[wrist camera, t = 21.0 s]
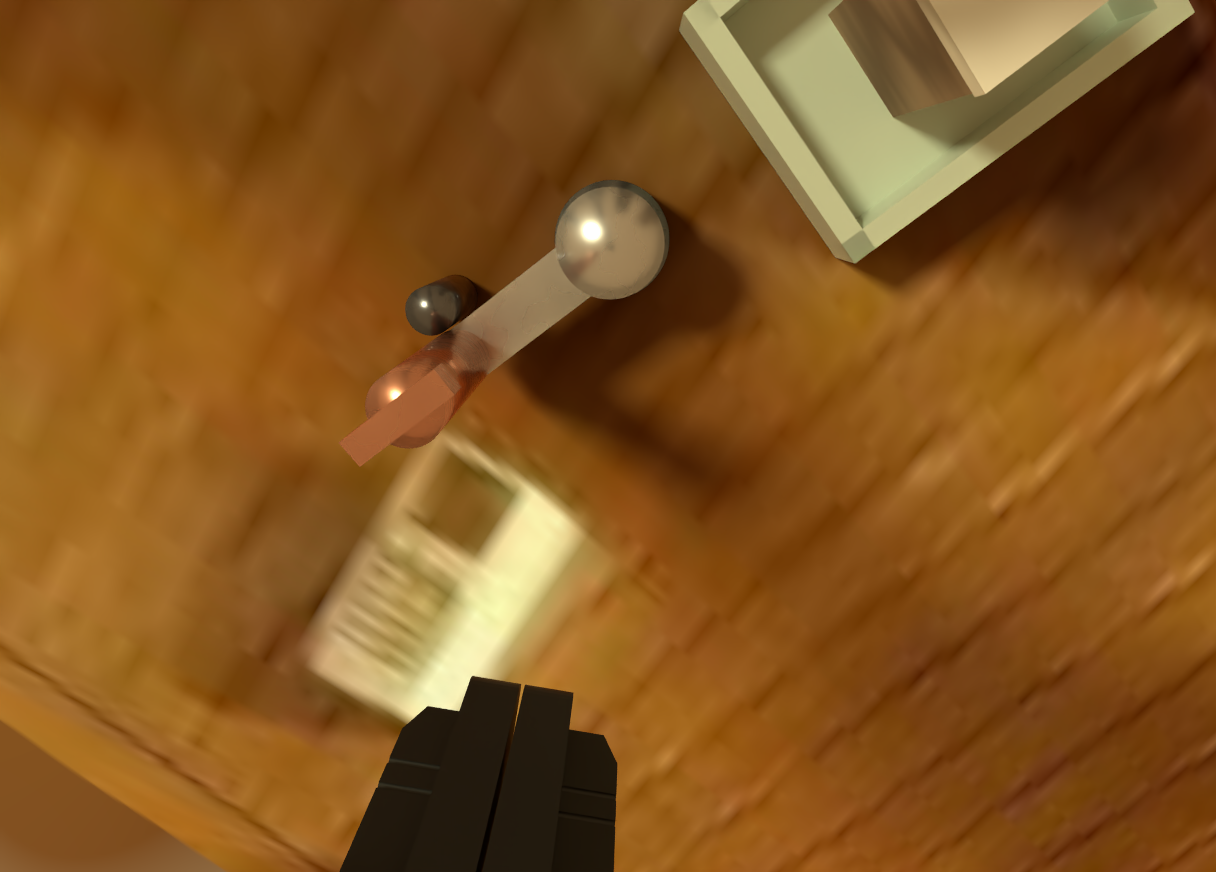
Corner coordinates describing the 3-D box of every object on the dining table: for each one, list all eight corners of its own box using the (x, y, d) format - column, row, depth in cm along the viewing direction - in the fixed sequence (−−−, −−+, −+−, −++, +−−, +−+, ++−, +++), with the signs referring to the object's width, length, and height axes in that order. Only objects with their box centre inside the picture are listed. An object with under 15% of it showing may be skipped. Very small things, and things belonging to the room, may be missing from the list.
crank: (622, 165, 32) (615, 150, 21) (682, 251, 33) (705, 278, 22) (405, 336, 35) (301, 400, 24) (468, 412, 36) (394, 506, 25)
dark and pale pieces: (352, 356, 37) (310, 379, 32) (608, 138, 34) (604, 129, 29) (434, 448, 39) (405, 484, 34) (689, 247, 35) (697, 255, 30)
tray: (679, 30, 32) (683, 12, 29) (993, -242, 29) (1036, -294, 26) (835, 257, 35) (854, 263, 32) (1139, 30, 32) (1195, 12, 29)
